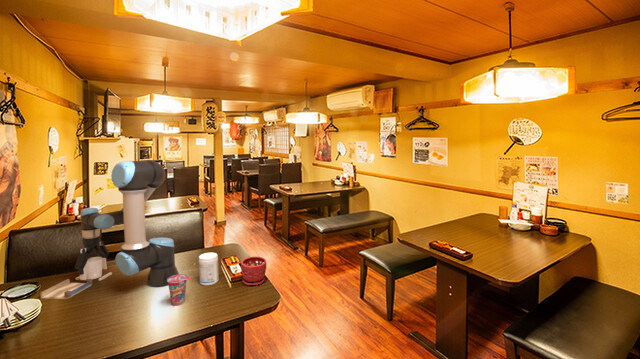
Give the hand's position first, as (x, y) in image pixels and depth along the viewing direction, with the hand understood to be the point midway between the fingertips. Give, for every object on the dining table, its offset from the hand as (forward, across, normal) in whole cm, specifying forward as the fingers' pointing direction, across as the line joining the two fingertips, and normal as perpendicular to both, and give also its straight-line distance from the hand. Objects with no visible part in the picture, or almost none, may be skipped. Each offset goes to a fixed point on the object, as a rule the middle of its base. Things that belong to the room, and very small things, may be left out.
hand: (94, 274), depth 157 cm
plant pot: (+2, +1, +89) cm, 89 cm away
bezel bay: (+2, +16, 0) cm, 16 cm away
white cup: (+2, 0, 0) cm, 2 cm away
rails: (+2, 0, 0) cm, 2 cm away
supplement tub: (+2, +2, +65) cm, 65 cm away
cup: (+2, +23, +60) cm, 64 cm away
